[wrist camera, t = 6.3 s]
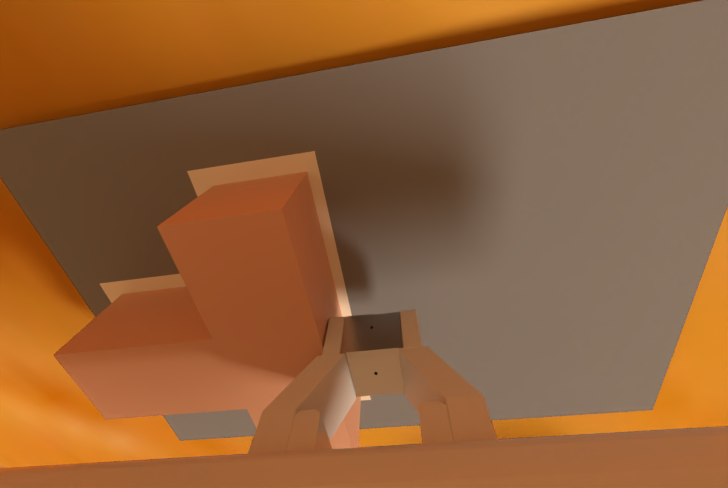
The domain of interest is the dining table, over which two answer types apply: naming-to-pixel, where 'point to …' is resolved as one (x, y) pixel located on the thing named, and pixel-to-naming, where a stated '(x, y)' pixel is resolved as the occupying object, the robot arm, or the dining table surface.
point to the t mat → (441, 199)
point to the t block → (219, 311)
